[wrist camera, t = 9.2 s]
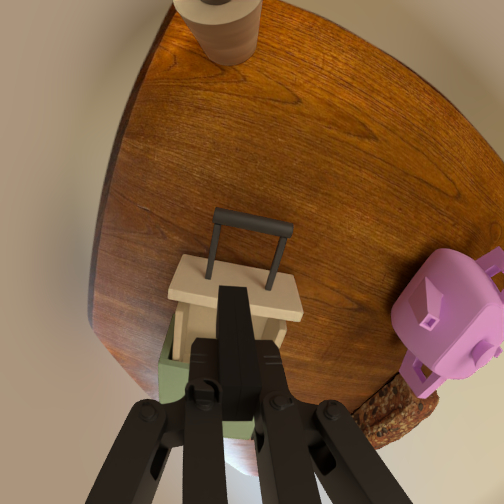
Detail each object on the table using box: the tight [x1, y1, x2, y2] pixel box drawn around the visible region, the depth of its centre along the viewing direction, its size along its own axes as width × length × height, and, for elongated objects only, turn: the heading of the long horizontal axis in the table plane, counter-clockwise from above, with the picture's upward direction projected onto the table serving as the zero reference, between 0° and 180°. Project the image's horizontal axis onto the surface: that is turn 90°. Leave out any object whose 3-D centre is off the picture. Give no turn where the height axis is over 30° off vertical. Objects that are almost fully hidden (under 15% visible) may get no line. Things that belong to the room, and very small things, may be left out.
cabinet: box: [158, 314, 255, 440], centre depth 35 cm, size 17×14×9 cm
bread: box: [352, 374, 439, 450], centre depth 43 cm, size 19×11×10 cm, turn 155°
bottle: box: [173, 0, 263, 66], centre depth 15 cm, size 5×5×14 cm
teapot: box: [391, 246, 504, 399], centre depth 28 cm, size 19×18×15 cm
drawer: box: [168, 207, 303, 364], centre depth 30 cm, size 23×13×7 cm, turn 167°
